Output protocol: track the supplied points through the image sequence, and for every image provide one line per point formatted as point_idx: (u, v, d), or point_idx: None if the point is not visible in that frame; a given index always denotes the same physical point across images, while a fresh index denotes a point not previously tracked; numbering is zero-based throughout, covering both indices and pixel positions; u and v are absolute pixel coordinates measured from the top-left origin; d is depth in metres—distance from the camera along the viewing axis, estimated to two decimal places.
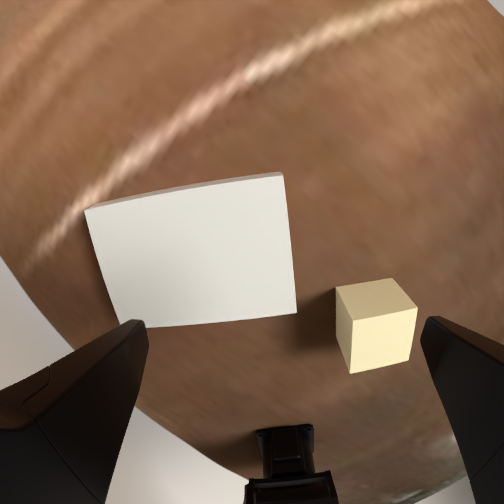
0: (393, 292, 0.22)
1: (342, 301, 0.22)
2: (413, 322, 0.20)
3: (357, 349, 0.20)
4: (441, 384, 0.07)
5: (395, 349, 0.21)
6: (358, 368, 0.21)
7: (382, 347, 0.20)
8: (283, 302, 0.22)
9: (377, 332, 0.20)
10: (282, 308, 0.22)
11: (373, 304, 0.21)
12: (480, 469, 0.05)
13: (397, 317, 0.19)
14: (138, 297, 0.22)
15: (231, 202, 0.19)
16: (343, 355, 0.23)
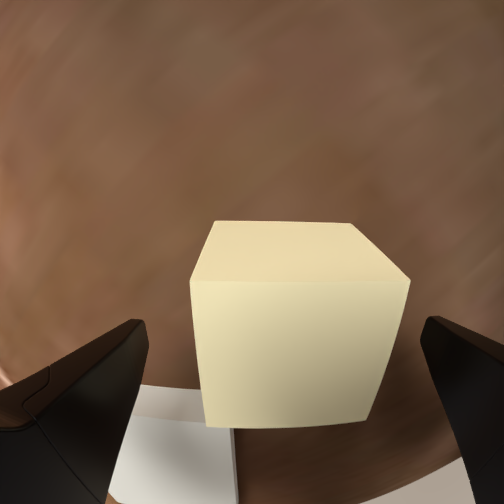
0: None
1: None
2: (248, 287, 0.07)
3: (296, 418, 0.08)
4: (441, 384, 0.07)
5: (341, 334, 0.07)
6: (359, 409, 0.08)
7: (313, 371, 0.07)
8: (207, 433, 0.12)
9: (255, 386, 0.08)
10: (218, 435, 0.12)
11: None
12: (480, 469, 0.05)
13: (214, 342, 0.07)
14: None
15: None
16: None
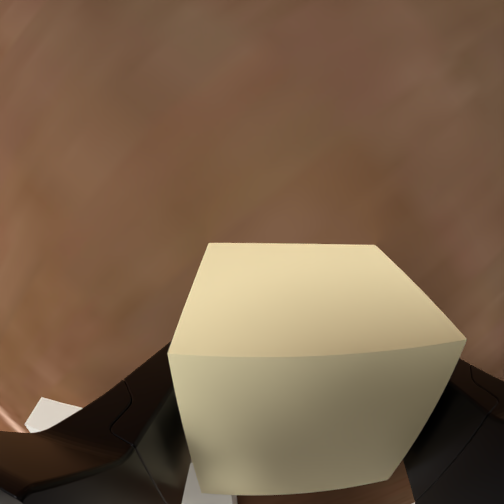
0: None
1: None
2: (252, 363, 0.04)
3: (308, 486, 0.06)
4: None
5: (374, 408, 0.05)
6: (382, 472, 0.06)
7: (334, 446, 0.05)
8: None
9: (261, 462, 0.05)
10: None
11: None
12: (424, 491, 0.05)
13: (206, 423, 0.05)
14: None
15: None
16: None
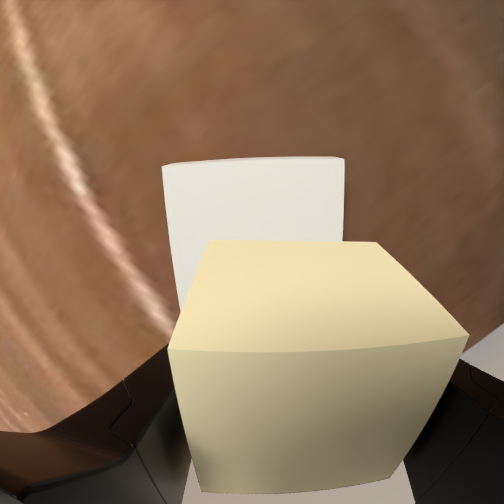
0: None
1: None
2: (254, 359, 0.04)
3: (309, 484, 0.06)
4: None
5: (376, 405, 0.05)
6: (384, 470, 0.06)
7: (336, 444, 0.05)
8: (326, 175, 0.16)
9: (261, 460, 0.05)
10: (335, 177, 0.16)
11: None
12: (424, 491, 0.05)
13: (207, 420, 0.05)
14: None
15: (190, 225, 0.17)
16: None
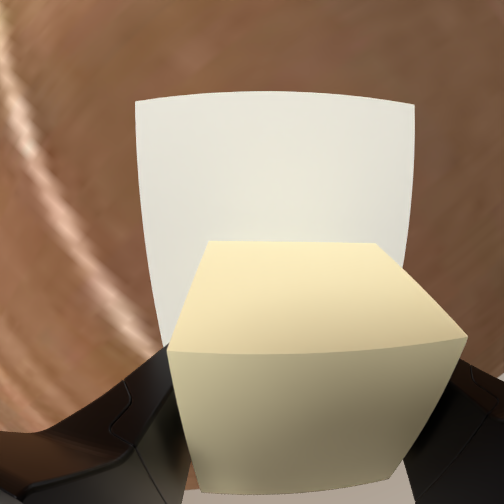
0: None
1: None
2: (252, 361, 0.04)
3: (308, 485, 0.06)
4: None
5: (375, 406, 0.05)
6: (383, 471, 0.06)
7: (334, 445, 0.05)
8: (390, 124, 0.10)
9: (260, 462, 0.05)
10: (402, 129, 0.10)
11: None
12: (425, 491, 0.05)
13: (206, 421, 0.05)
14: None
15: (175, 194, 0.10)
16: None
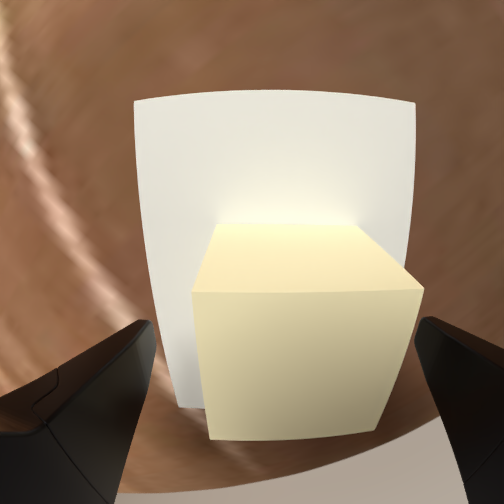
0: None
1: None
2: (254, 298, 0.06)
3: (302, 430, 0.08)
4: (435, 385, 0.07)
5: (352, 345, 0.07)
6: (368, 419, 0.08)
7: (321, 383, 0.07)
8: (391, 123, 0.09)
9: (261, 399, 0.07)
10: (403, 127, 0.09)
11: None
12: (473, 472, 0.05)
13: (218, 356, 0.07)
14: None
15: (174, 193, 0.10)
16: None
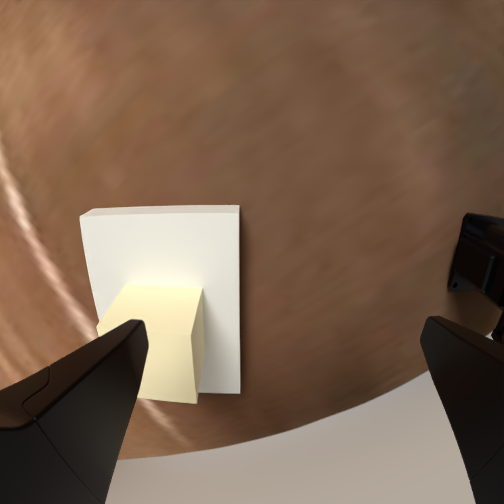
0: None
1: None
2: None
3: (156, 394, 0.16)
4: (441, 384, 0.07)
5: (162, 355, 0.15)
6: (189, 395, 0.16)
7: (155, 370, 0.15)
8: (220, 228, 0.18)
9: None
10: (229, 230, 0.18)
11: None
12: (480, 469, 0.05)
13: None
14: None
15: (104, 267, 0.18)
16: (199, 378, 0.18)
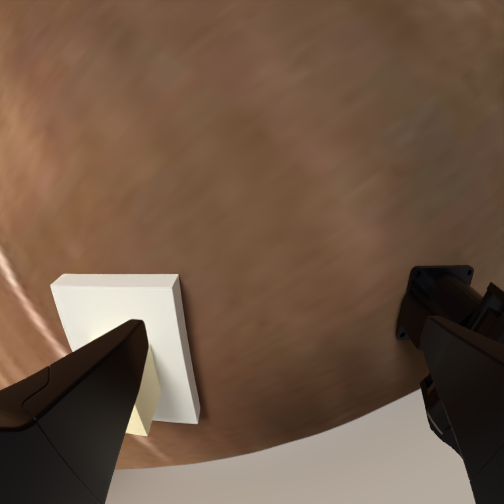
0: None
1: None
2: None
3: None
4: (441, 384, 0.07)
5: None
6: (140, 430, 0.18)
7: None
8: (158, 299, 0.20)
9: None
10: (166, 300, 0.20)
11: None
12: (480, 469, 0.05)
13: None
14: (162, 404, 0.23)
15: (75, 325, 0.21)
16: (152, 415, 0.20)
